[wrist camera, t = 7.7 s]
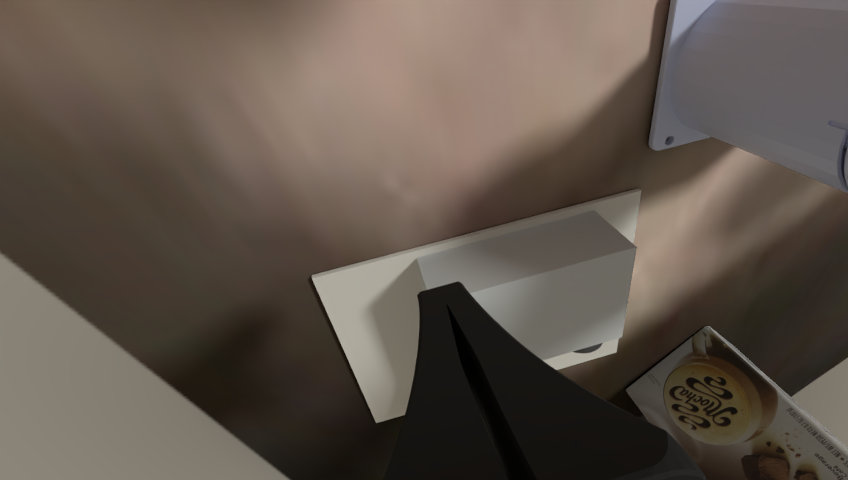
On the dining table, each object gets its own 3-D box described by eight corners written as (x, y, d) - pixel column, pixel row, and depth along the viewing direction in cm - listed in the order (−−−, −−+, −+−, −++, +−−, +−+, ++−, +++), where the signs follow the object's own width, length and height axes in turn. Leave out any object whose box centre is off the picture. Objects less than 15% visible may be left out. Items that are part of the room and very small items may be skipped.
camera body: (594, 210, 24) (644, 253, 20) (586, 307, 29) (625, 357, 25) (416, 257, 23) (433, 312, 19) (438, 349, 28) (455, 407, 24)
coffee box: (656, 405, 39) (824, 622, 26) (622, 388, 36) (792, 624, 23) (737, 346, 36) (972, 557, 23) (707, 322, 33) (958, 550, 20)
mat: (638, 188, 24) (641, 190, 24) (614, 349, 33) (616, 352, 32) (311, 275, 23) (311, 278, 22) (375, 419, 31) (376, 423, 31)
